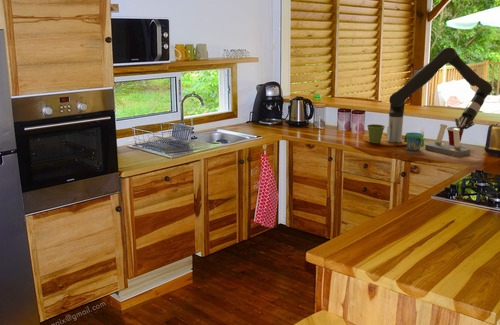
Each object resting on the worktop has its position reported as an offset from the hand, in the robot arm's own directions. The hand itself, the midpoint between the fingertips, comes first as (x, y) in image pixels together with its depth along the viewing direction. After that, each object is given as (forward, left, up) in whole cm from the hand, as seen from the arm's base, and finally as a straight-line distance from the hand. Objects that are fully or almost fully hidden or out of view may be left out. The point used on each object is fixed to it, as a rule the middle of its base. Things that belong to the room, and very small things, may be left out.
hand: (457, 133), depth 335 cm
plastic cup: (+9, +22, -13) cm, 27 cm away
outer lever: (+1, +1, -9) cm, 9 cm away
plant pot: (-39, +37, -13) cm, 56 cm away
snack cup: (-21, +14, -13) cm, 29 cm away
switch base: (-2, +7, -13) cm, 15 cm away
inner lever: (-6, +13, -9) cm, 17 cm away
